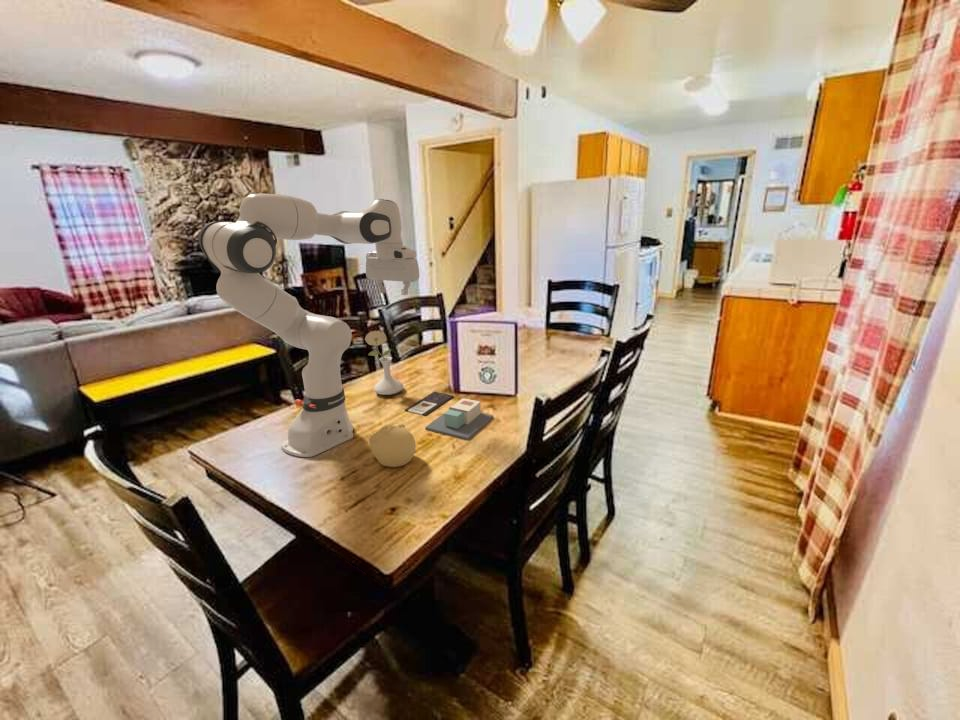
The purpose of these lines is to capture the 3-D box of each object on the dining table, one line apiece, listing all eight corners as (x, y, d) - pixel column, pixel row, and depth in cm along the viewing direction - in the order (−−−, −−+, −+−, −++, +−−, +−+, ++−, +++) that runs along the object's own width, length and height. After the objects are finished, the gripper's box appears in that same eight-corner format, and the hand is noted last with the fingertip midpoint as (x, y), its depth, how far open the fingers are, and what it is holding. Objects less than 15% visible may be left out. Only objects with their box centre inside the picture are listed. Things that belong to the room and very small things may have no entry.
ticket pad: (468, 440, 135) (467, 424, 133) (425, 429, 142) (424, 414, 140) (493, 417, 149) (492, 403, 147) (453, 408, 156) (452, 395, 154)
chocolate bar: (453, 395, 166) (425, 414, 151) (453, 397, 166) (425, 417, 151) (434, 391, 170) (404, 409, 155) (434, 393, 170) (405, 412, 156)
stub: (457, 428, 139) (457, 416, 138) (444, 425, 142) (444, 413, 140) (464, 423, 143) (463, 411, 141) (451, 420, 145) (450, 408, 143)
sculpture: (397, 445, 133) (393, 413, 129) (424, 458, 125) (421, 425, 122) (366, 462, 124) (361, 428, 121) (393, 477, 117) (389, 441, 114)
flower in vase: (406, 386, 177) (401, 326, 169) (399, 397, 166) (393, 334, 158) (375, 385, 178) (368, 326, 170) (366, 397, 168) (358, 334, 159)
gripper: (359, 252, 146) (363, 293, 151) (408, 253, 137) (412, 297, 141) (371, 250, 151) (376, 290, 156) (420, 251, 142) (423, 294, 147)
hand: (393, 293), depth 148 cm, fingers open, 8 cm apart
